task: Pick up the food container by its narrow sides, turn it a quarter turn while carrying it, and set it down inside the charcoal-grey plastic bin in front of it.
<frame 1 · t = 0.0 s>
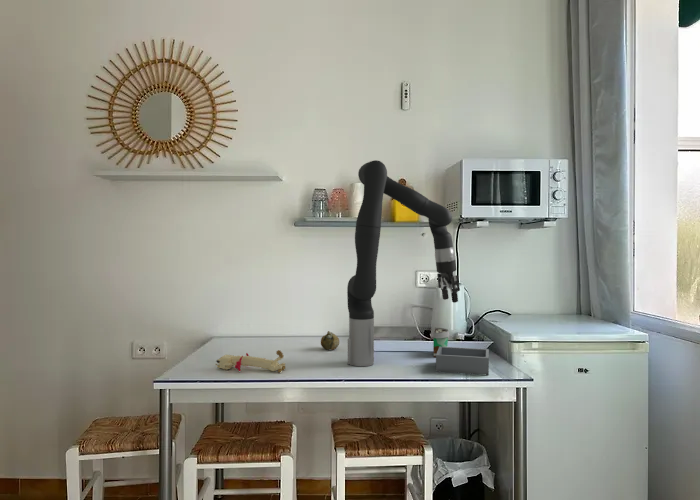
hand: (450, 300, 211), 22 cm above the table, tool pointing down, fingers open, 8 cm apart
grey bin: (462, 368, 196), on the table
onion: (330, 349, 227), on the table
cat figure: (249, 371, 194), on the table
food container: (441, 355, 216), on the table
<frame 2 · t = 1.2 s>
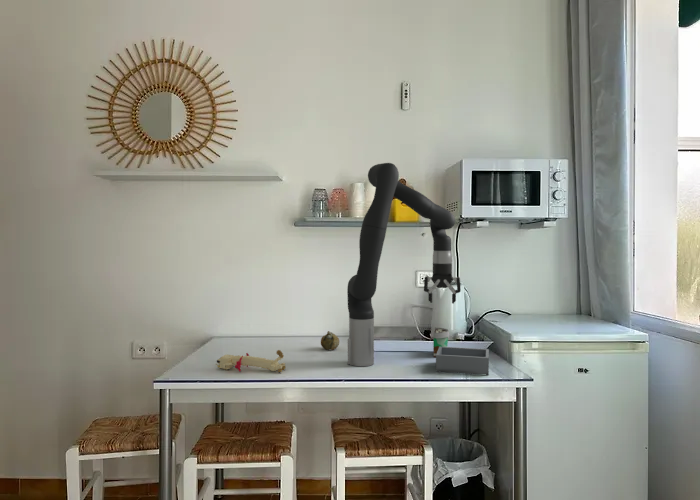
hand: (442, 302, 215), 21 cm above the table, tool pointing down, fingers open, 8 cm apart
nothing on the table moved.
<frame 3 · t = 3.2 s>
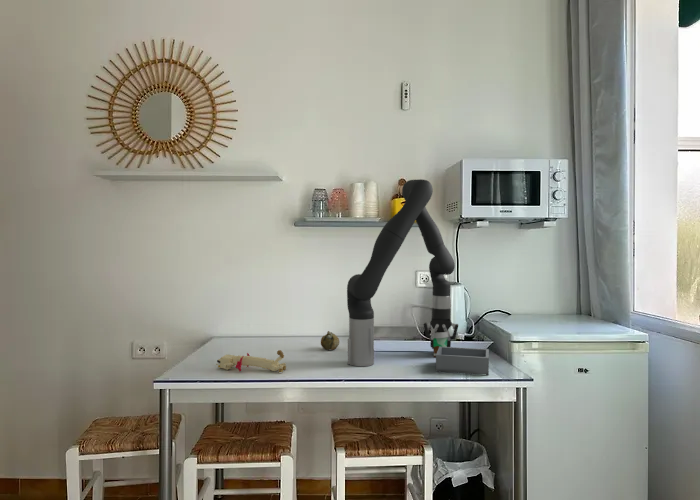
hand: (440, 348, 216), 2 cm above the table, tool pointing down, fingers closed on food container, 5 cm apart
food container: (441, 355, 216), on the table, touching gripper
everything else where it was.
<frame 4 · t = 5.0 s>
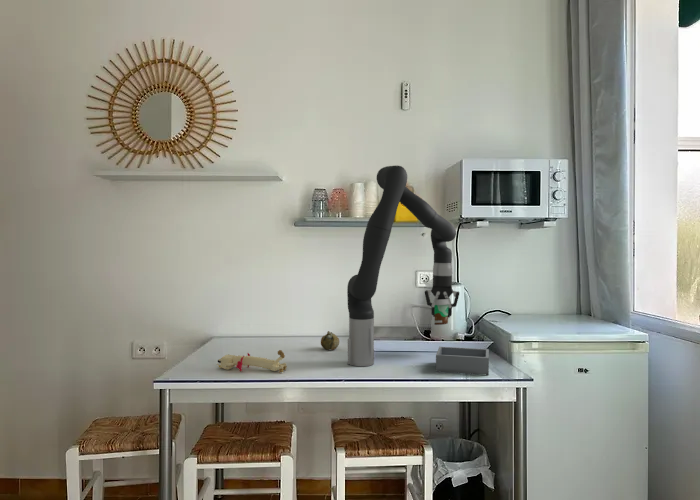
hand: (441, 316, 216), 15 cm above the table, tool pointing down, fingers closed on food container, 5 cm apart
food container: (442, 323, 216), point 13 cm above the table, touching gripper
everything else where it was.
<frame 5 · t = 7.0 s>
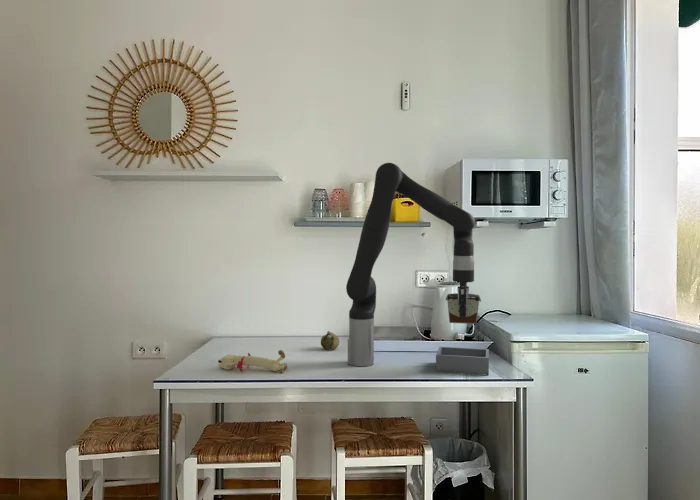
hand: (462, 315, 195), 19 cm above the table, tool pointing down, fingers closed on food container, 5 cm apart
food container: (462, 322, 196), point 17 cm above the table, touching gripper
everything else where it was.
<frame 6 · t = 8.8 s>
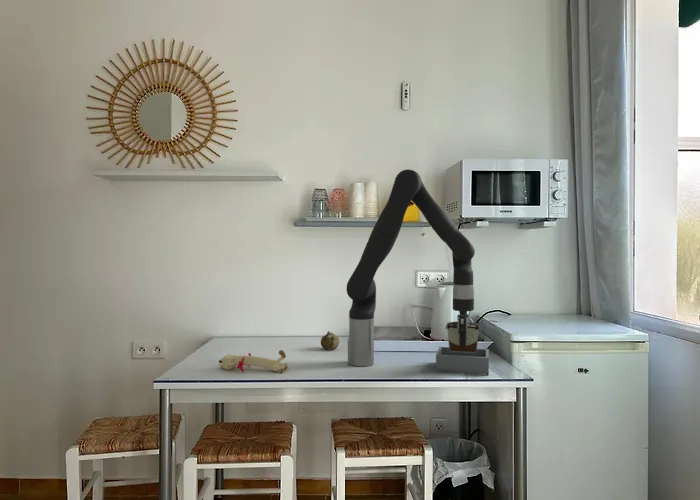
hand: (463, 343, 195), 9 cm above the table, tool pointing down, fingers closed on food container, 5 cm apart
food container: (462, 350, 196), point 6 cm above the table, touching gripper
everything else where it was.
when the fingers open (5 cm above the table, at t = 10.5 s): food container moves 1 cm, resting on grey bin.
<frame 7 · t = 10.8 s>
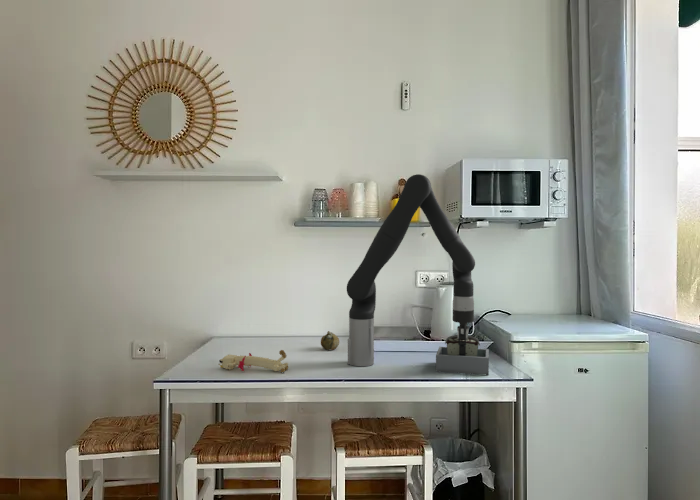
hand: (462, 353, 195), 5 cm above the table, tool pointing down, fingers open, 7 cm apart
food container: (462, 364, 197), point 1 cm above the table, touching grey bin, gripper
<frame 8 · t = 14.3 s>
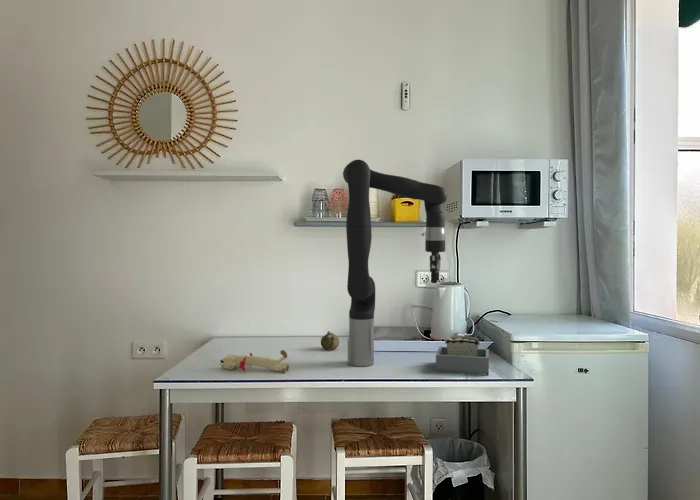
hand: (435, 281, 207), 30 cm above the table, tool pointing down, fingers open, 8 cm apart
food container: (462, 365, 197), point 1 cm above the table, touching grey bin
at the end: food container inside the target area on the grey bin (1.6 cm from its centre), point 0.8 cm above the grey bin's base; food container tilted 0°; the gripper is holding nothing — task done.
